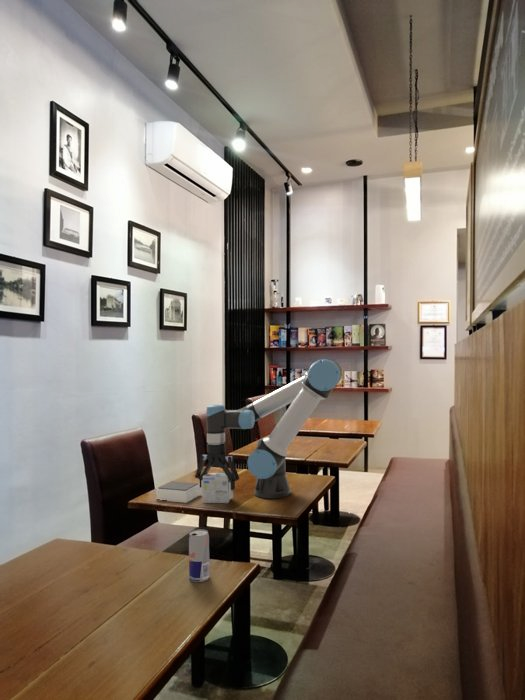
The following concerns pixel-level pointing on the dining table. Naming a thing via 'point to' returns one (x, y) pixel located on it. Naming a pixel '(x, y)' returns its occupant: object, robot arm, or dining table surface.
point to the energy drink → (199, 556)
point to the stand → (178, 491)
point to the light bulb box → (215, 488)
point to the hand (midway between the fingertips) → (217, 496)
